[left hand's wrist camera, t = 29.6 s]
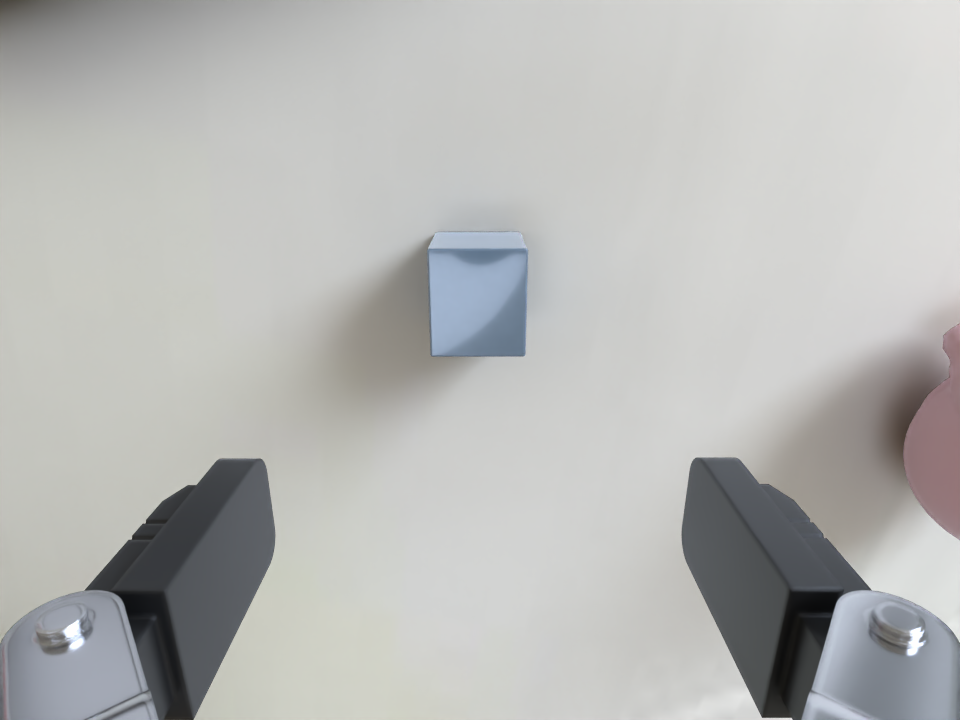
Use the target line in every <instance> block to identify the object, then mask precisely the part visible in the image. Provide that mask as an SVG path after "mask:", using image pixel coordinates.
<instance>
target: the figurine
mask: <svg viewBox="0 0 960 720" xmlns="http://www.w3.org/2000/svg"><path fill="white" fill-rule="evenodd" d="M943 338H944V340H943V349H944V351H945V352H946V354H947V355H948V357H949V359H950V367H949V378H948V379H946V380H945V381H943V382H942V383H941V384H940V385H939V386H937V387H936V388H934V389H933V390H932V391H931V392H930V393H929V394H928V395H927V397H926V398H925V400H924V401H923V403H922V404H921V406H920V408H919V409H918V411H917V413H916V414H915V416H914V417H913V419H912V421H911V423H910V425H909V428H908V430H907V433H906V437H905V442H904V450H903V459H904V467H905V472H906V476H907V479H908V482H909V485H910V487H911V489H912V491H913V493H914V495H915V497H916V498H917V500H918V502H919V503H920V504H921V506H922V507H923V508H924V510H925V511H926V512H927V513H928V514H929V515H930V516H931V517H932V518H933V519H934V520H935V521H936V522H937V523H938V524H939V525H940V526H941V527H942V528H944V529H945V530H946V531H947V532H949V533H950V534H952V535H953V536H954V537H956V538H957V539H959V540H960V323H959V324H958V325H956V326H955V327H953V328H951V329H950V330H949V331H948V332H947V333H946V334H945V335H943Z"/></svg>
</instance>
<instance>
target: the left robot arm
mask: <svg viewBox="0 0 960 720" xmlns="http://www.w3.org/2000/svg"><path fill="white" fill-rule="evenodd" d="M274 546H275V526H274V519H273V511H272V504H271V497H270V490H269V482H268V475H267V469H266V465H265V463H264V461H263V460H262V459H219V460H217V461H216V462H215V463H214V465H213V466H212V467H211V468H210V469H209V471H208V472H207V473H206V474H205V476H204V477H203V478H202V479H201V480H200V482H199V483H198V484H197V485H188V486H186V487H184V488H183V489H181V490H180V491H178V492H176V493H175V494H173V495H172V496H170V497H169V498H167V499H165V500H164V501H162V502H161V504H160V505H159V506H158V507H157V508H156V509H155V510H154V512H153V513H152V514H151V515H150V516H149V517H148V518H147V520H146V524H142V525H141V526H140V528H139V529H138V530H137V531H136V532H135V533H134V534H133V536H132V540H128V541H127V542H126V544H125V545H124V546H123V547H122V548H121V549H120V550H119V552H118V553H117V554H116V555H115V556H114V557H113V558H112V560H111V561H110V562H109V563H108V564H107V565H106V567H105V568H104V569H103V570H102V571H101V572H100V573H99V575H98V576H97V577H96V578H95V579H94V580H93V581H92V583H91V584H90V585H89V586H88V587H87V588H86V589H85V591H81V592H76V593H72V594H68V595H65V596H62V597H59V598H57V599H54V600H52V601H49V602H47V603H45V604H43V605H41V606H39V607H38V608H36V609H34V610H33V611H31V612H29V613H28V614H27V615H25V616H24V617H22V618H21V619H20V620H19V621H18V622H17V623H15V624H14V625H13V626H12V627H11V628H10V630H9V631H8V632H7V633H6V635H5V636H4V637H3V639H2V641H1V643H0V720H193V719H194V717H195V715H196V713H197V711H198V709H199V707H200V705H201V703H202V701H203V699H204V697H205V695H206V693H207V691H208V689H209V687H210V685H211V683H212V681H213V679H214V677H215V675H216V673H217V671H218V669H219V667H220V665H221V663H222V661H223V659H224V657H225V655H226V653H227V651H228V648H229V646H230V644H231V642H232V640H233V638H234V636H235V634H236V632H237V630H238V628H239V626H240V624H241V622H242V620H243V618H244V616H245V614H246V612H247V610H248V608H249V606H250V604H251V602H252V600H253V598H254V596H255V594H256V592H257V590H258V588H259V586H260V584H261V582H262V580H263V577H264V575H265V573H266V571H267V569H268V567H269V565H270V563H271V560H272V557H273V552H274ZM682 546H683V552H684V556H685V559H686V562H687V564H688V566H689V569H690V571H691V573H692V575H693V577H694V579H695V581H696V583H697V585H698V587H699V589H700V591H701V593H702V595H703V597H704V599H705V601H706V603H707V605H708V608H709V610H710V612H711V614H712V616H713V618H714V620H715V622H716V624H717V626H718V628H719V630H720V632H721V634H722V636H723V638H724V640H725V642H726V644H727V647H728V649H729V651H730V653H731V655H732V657H733V659H734V661H735V663H736V665H737V667H738V669H739V671H740V673H741V675H742V677H743V679H744V681H745V683H746V686H747V688H748V690H749V692H750V694H751V696H752V698H753V700H754V702H755V704H756V706H757V708H758V710H759V712H760V714H761V716H762V718H792V719H793V720H960V643H959V641H958V639H957V637H956V636H955V635H954V633H953V632H952V631H951V630H950V628H949V627H948V626H947V625H946V624H945V623H943V622H942V621H941V620H940V619H939V618H938V617H936V616H935V615H933V614H932V613H931V612H929V611H927V610H926V609H924V608H922V607H921V606H919V605H917V604H915V603H913V602H911V601H908V600H906V599H903V598H901V597H898V596H895V595H892V594H888V593H884V592H879V591H872V590H871V589H870V588H869V587H868V585H867V584H866V583H865V582H864V581H863V580H862V578H861V577H860V576H859V575H858V574H857V573H856V572H855V570H854V569H853V568H852V567H851V566H850V565H849V563H848V562H847V561H846V560H845V559H844V558H843V557H842V555H841V554H840V553H839V552H838V551H837V550H836V548H835V547H834V546H833V545H832V544H831V543H830V542H829V540H828V539H827V538H824V537H823V533H822V532H821V531H820V530H819V529H818V528H817V527H816V525H815V524H814V523H810V518H809V517H808V516H807V515H806V514H805V513H804V512H803V510H802V509H801V508H800V507H799V506H798V505H797V503H796V502H795V501H794V500H793V499H791V498H789V497H788V496H786V495H785V494H783V493H782V492H780V491H778V490H777V489H775V488H774V487H772V486H771V485H769V484H759V483H758V482H757V480H756V479H755V478H754V477H753V475H752V474H751V473H750V472H749V470H748V469H747V468H746V467H745V466H744V464H743V463H742V462H741V461H740V460H739V459H738V458H695V459H694V460H693V461H692V464H691V467H690V473H689V480H688V487H687V495H686V502H685V509H684V517H683V524H682Z"/></svg>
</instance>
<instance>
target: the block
mask: <svg viewBox="0 0 960 720" xmlns="http://www.w3.org/2000/svg"><path fill="white" fill-rule="evenodd" d="M427 264H428V294H429V325H430V355H431V356H433V357H473V356H525V353H526V313H527V272H528V249H527V247H526V244H525V242H524V240H523V237H522V235H521V233H520V232H436V233H435V235H434V237H433V239H432V241H431V243H430V245H429V248H428V250H427Z"/></svg>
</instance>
